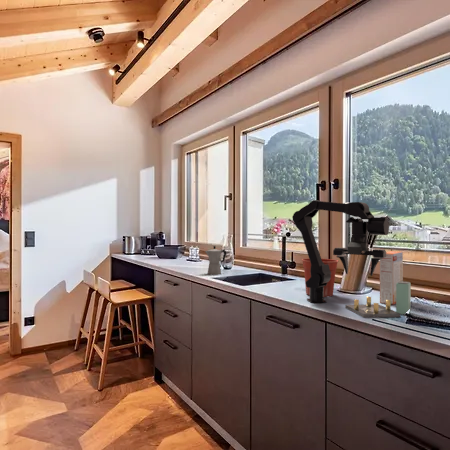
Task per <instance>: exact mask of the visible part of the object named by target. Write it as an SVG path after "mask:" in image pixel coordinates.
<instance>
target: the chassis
mask: <svg viewBox="0 0 450 450" xmlns="http://www.w3.org/2000/svg"><path fill="white" fill-rule="evenodd" d="M359 302H360V301H359V299H357V298H356V299H353V304H345V305H344V306H345V307H344V308H345V309H346V310H348V311H349V312H353V313H355V314H356V315H358V316H360V317H362V318H365V319H367V318H368V319H369V318H370V319H371V318H401V314H400V313H398V312H396V310H393V309H391V305H392V304H391V300H386V304H385V306H383V305H381V304H379V303H380V302H373V303H372V296H366V304H360V303H359Z"/></svg>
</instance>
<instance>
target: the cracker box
mask: <svg viewBox="0 0 450 450" xmlns="http://www.w3.org/2000/svg"><path fill="white" fill-rule="evenodd" d="M403 253H404V252H402V251H397V250H395V251H393V250H392V251H391V250H390V251H386V257H384V258H382V259H381V260H379V303H380V304H385V305H386V300H391V305H396V283H398V282H399V281H403V282H404V270H403V269H404V267H403V264H404V261H403V259H404V257H403V255H404V254H403Z"/></svg>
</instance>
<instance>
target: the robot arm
mask: <svg viewBox="0 0 450 450" xmlns="http://www.w3.org/2000/svg"><path fill="white" fill-rule="evenodd" d="M319 211H328V212H335V213H336V212H337V213H342V214H346V215H348V216H350V217H349V218H348V219H347V220H346V221H345V223H346V224H350V223H351V237H350V240H349V241H350V242H349V243H348V244H347V246H346V247H335V248H334V249H332V250H333V251H332V255H333V256H336V258H338V259H339V260H340V261H341V264H342V267H343V270H344V272H345V274H347V275H348V274H349V255H357V256H372V257H371V258H370V259H371V260H370V261H371V262H370V263H371V264H370V277H372V276H373V274H374V272H375V270H376V268H377V267H376V266H377V264H378V263H379V262H380V260H381V259H382V258H384V257H386V252H387V250H386V249H378V248H374V249H372V250H368V249H369V246H368V233H369V235H371V236H388V234H389V231H390V225H389V221H388V217H387V216H380V217H378V216H377V217H375V216H374V215H373V214H372V212H371V211H370V206H369V205H368V204H367V203H366V202H362V201H353V202H343V203H342V202H333V201H322V200H317V199H314V200H311V201H310V202H309V203H308V204H306V205H304V206H303V207H302V208H300V209H298V210H296V211H295V212H294V213H293V215H292V221H293V223H294V225H295V227H296V228H297V229H298V231H299V233H300V234H301V237H302V240H303V243H304V246H305V250H306V253H307V256H308V259H310V263H311V269H310V274H311V278H310V279H309V280H308V281H306V286H307V287H309V288H310V295H309V298H306V300H307V301H308V302H309V303H311V304H320V303H322V304H323V303H327V300H325V299H324V298H325V297H324V286H326V285H327V282H329V281H330V278H331V274H332V273H331V271H330V269H329V265H328V264H326V265H325V264H324V263H323V262H322V260H321V259H322V257H321V253H320V251H319V247H318V244H317V241H316V238H315V236H314V235H315V234H314V232H313V218H314V217H315V216H316V215H317V214H318V213H319ZM364 220H365V221H364ZM366 220H367V221H366ZM306 286H305V287H306Z"/></svg>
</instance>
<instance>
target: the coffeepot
mask: <svg viewBox="0 0 450 450" xmlns="http://www.w3.org/2000/svg"><path fill="white" fill-rule="evenodd" d="M222 253H223V255H222ZM205 254H206V255H207V257H208V268H207V269H208V270H207V274H208V275H211V274H213V275H215V276H217V275H218V276H219V275H221V274H222V271H221V265H220V262H221V263H224V262H225V259H226V255H227V254H228V253H227V250H225V249H217V248H216V246H215V245H214V246H213V249H208V250H205ZM221 256H222V260H221ZM213 275H212V276H213Z"/></svg>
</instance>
